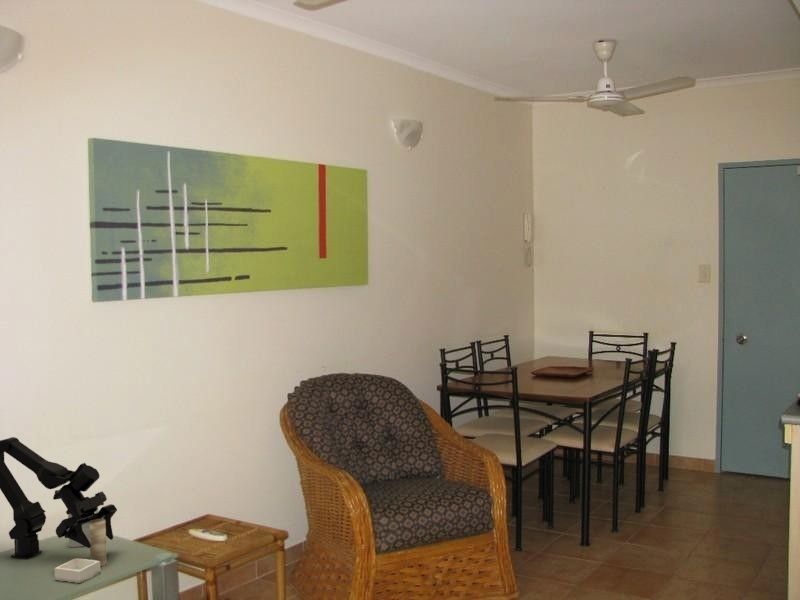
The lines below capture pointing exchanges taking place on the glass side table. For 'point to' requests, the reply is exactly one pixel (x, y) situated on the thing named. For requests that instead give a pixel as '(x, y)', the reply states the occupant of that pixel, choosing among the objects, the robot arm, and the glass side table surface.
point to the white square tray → (77, 570)
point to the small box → (85, 529)
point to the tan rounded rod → (98, 540)
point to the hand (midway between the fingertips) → (101, 543)
